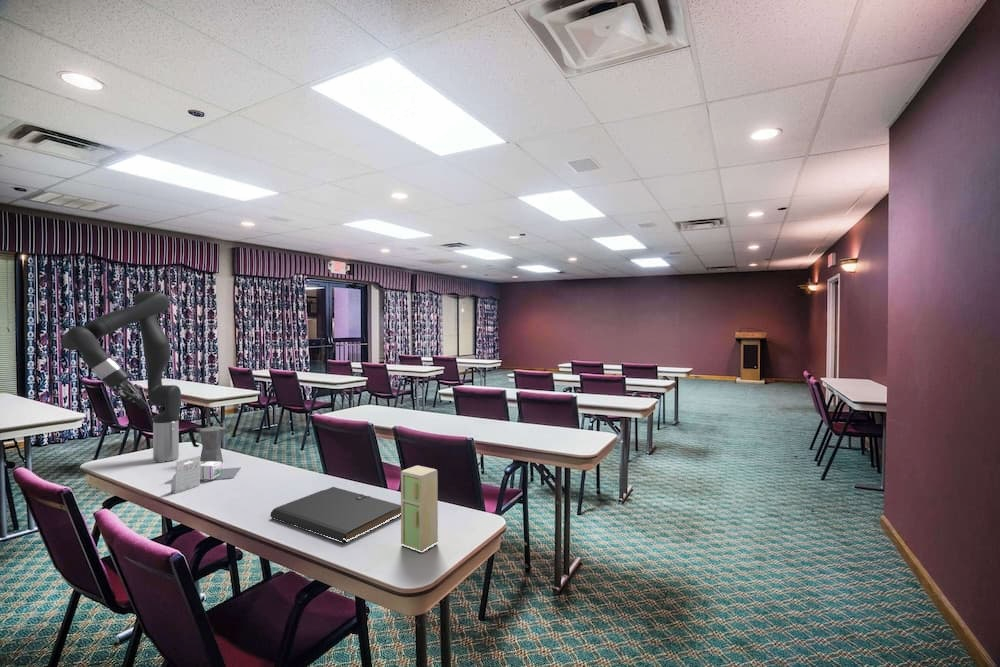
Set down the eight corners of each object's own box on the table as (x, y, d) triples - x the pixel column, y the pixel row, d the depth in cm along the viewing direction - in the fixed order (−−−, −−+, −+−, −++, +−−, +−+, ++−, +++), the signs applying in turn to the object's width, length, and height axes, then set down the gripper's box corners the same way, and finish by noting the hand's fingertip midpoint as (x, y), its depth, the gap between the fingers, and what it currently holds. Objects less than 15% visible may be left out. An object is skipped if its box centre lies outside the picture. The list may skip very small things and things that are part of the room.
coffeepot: (231, 459, 209) (231, 419, 209) (224, 465, 200) (224, 423, 200) (193, 461, 205) (193, 420, 205) (183, 467, 196) (184, 425, 196)
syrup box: (175, 479, 179) (212, 480, 179) (175, 464, 179) (212, 465, 179) (185, 474, 185) (221, 475, 185) (185, 460, 185) (221, 461, 185)
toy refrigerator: (398, 547, 127) (398, 471, 127) (416, 537, 133) (417, 464, 133) (419, 555, 123) (420, 476, 122) (437, 545, 129) (438, 469, 128)
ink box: (170, 493, 166) (170, 461, 166) (195, 484, 175) (195, 454, 175) (175, 494, 165) (176, 462, 165) (200, 485, 174) (200, 455, 174)
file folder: (403, 504, 149) (342, 533, 128) (403, 517, 149) (342, 548, 128) (333, 485, 166) (270, 508, 145) (333, 496, 166) (270, 521, 145)
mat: (179, 482, 177) (179, 481, 177) (191, 472, 190) (191, 471, 190) (233, 478, 183) (233, 477, 183) (240, 468, 196) (240, 467, 196)
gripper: (113, 370, 171) (148, 405, 176) (127, 363, 183) (159, 397, 188) (93, 382, 169) (129, 417, 174) (108, 375, 181) (142, 408, 186)
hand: (145, 407), depth 181 cm, fingers closed
